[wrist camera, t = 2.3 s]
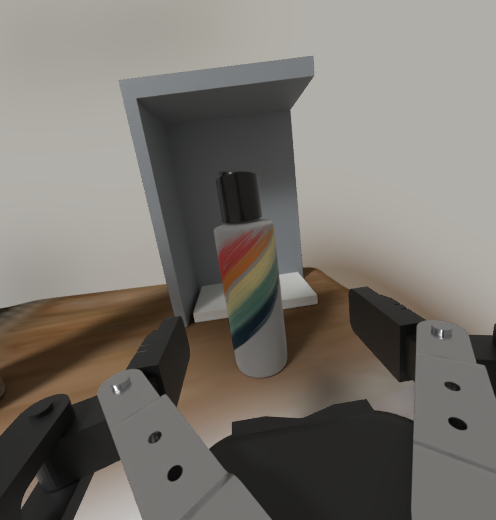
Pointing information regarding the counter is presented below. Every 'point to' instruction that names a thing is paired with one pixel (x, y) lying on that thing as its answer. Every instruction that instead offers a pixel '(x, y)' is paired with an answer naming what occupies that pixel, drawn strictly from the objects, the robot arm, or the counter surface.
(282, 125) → the open shelf
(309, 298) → the shelf mat
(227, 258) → the lotion bottle
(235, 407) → the counter surface
